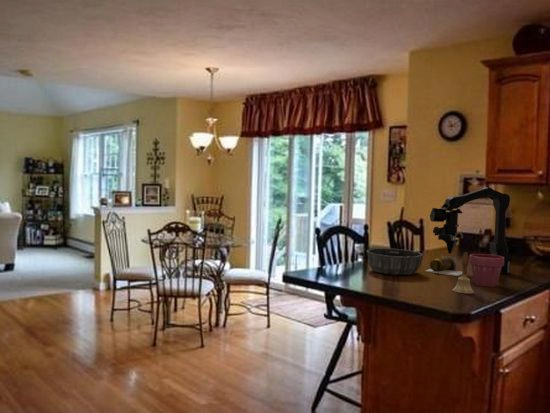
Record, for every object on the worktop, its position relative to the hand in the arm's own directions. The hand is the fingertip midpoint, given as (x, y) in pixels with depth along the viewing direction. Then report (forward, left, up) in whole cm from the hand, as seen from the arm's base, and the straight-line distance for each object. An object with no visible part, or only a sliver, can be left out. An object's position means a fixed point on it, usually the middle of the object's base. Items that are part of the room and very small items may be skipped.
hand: (449, 253), depth 262 cm
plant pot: (-24, +22, -9) cm, 34 cm away
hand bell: (-22, +45, -9) cm, 51 cm away
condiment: (+1, -2, -5) cm, 6 cm away
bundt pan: (+18, +25, -9) cm, 32 cm away
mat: (0, +5, -9) cm, 10 cm away
